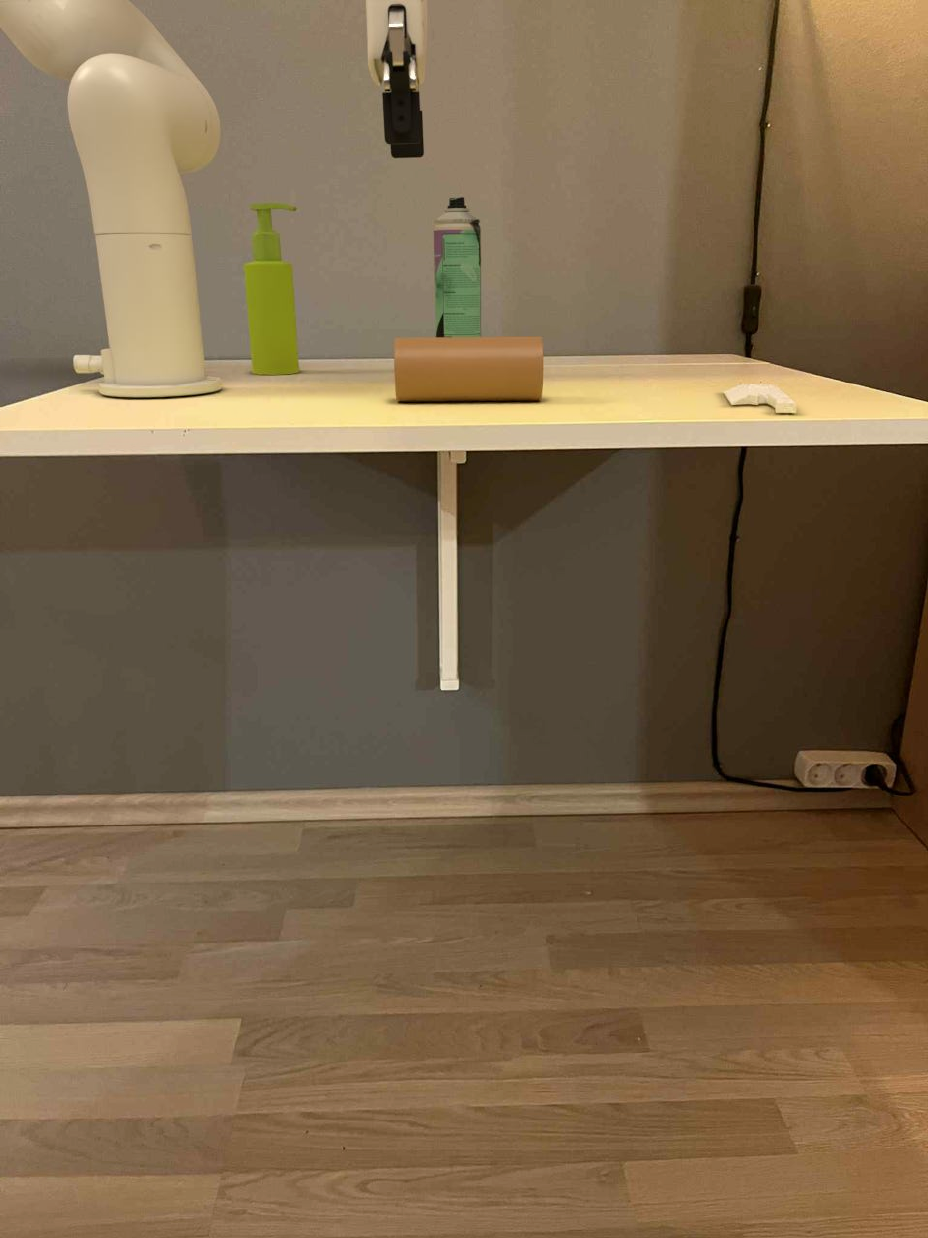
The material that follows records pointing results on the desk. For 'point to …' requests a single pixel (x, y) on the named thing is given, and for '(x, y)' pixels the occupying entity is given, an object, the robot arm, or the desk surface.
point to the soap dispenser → (270, 300)
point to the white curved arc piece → (761, 396)
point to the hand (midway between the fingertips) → (405, 150)
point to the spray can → (457, 272)
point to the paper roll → (468, 369)
